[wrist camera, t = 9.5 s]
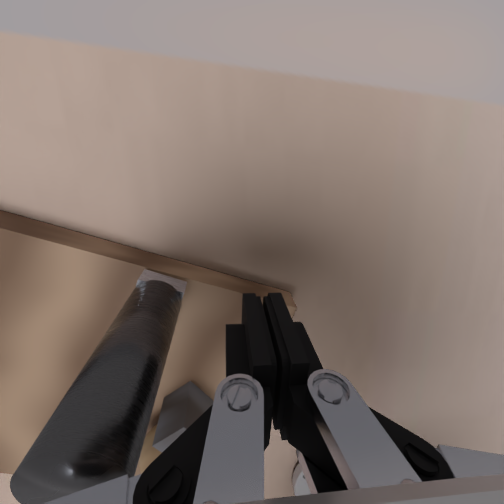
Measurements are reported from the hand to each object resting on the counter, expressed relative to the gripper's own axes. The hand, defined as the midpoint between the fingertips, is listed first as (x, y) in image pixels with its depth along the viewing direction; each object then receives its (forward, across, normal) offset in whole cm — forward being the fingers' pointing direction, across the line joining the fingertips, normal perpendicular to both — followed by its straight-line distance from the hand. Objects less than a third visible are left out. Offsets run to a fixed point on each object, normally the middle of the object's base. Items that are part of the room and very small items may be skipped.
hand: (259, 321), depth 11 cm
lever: (+4, +8, +9) cm, 13 cm away
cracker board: (+6, +10, +8) cm, 15 cm away
